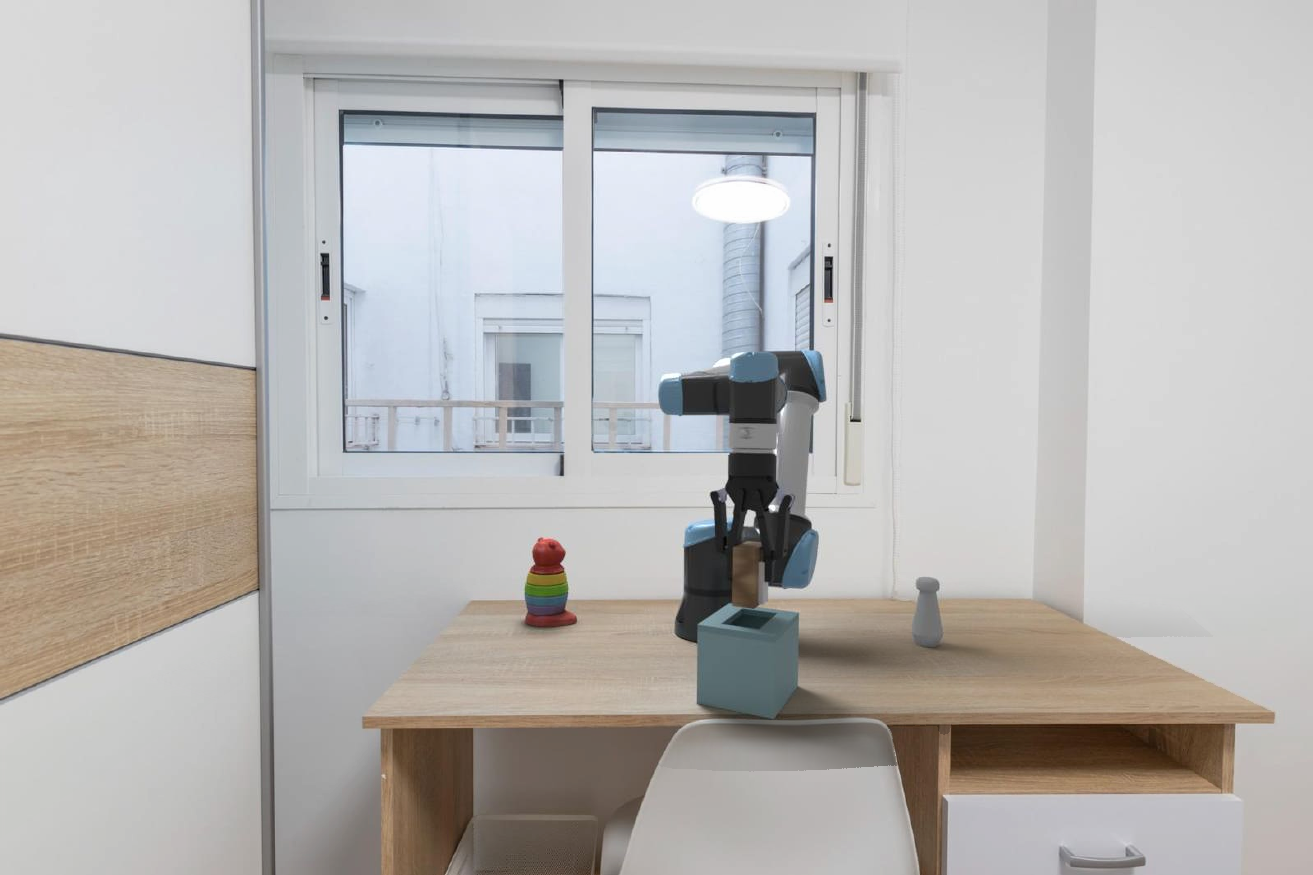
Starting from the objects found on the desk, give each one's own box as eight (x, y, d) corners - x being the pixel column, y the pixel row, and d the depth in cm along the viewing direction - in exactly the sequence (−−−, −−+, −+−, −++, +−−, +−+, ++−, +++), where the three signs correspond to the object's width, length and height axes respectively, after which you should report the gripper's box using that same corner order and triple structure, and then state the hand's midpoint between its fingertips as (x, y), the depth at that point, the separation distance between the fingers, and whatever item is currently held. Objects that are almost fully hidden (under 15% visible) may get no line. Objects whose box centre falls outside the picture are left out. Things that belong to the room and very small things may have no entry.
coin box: (696, 703, 100) (697, 624, 100) (728, 673, 112) (729, 603, 112) (773, 719, 95) (774, 636, 95) (797, 686, 107) (798, 612, 107)
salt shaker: (945, 649, 126) (946, 582, 126) (914, 647, 127) (915, 580, 127) (938, 640, 132) (940, 575, 132) (908, 638, 133) (909, 574, 133)
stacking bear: (580, 623, 141) (581, 540, 141) (536, 630, 135) (537, 544, 135) (558, 611, 150) (559, 533, 150) (516, 618, 144) (516, 536, 144)
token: (732, 606, 101) (733, 547, 101) (746, 596, 107) (747, 541, 107) (754, 609, 99) (754, 549, 99) (767, 598, 106) (768, 542, 106)
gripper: (694, 450, 103) (692, 599, 104) (798, 453, 96) (796, 613, 96) (711, 449, 110) (709, 589, 110) (810, 452, 103) (808, 602, 103)
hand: (750, 600), depth 103 cm, fingers closed on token, 3 cm apart
